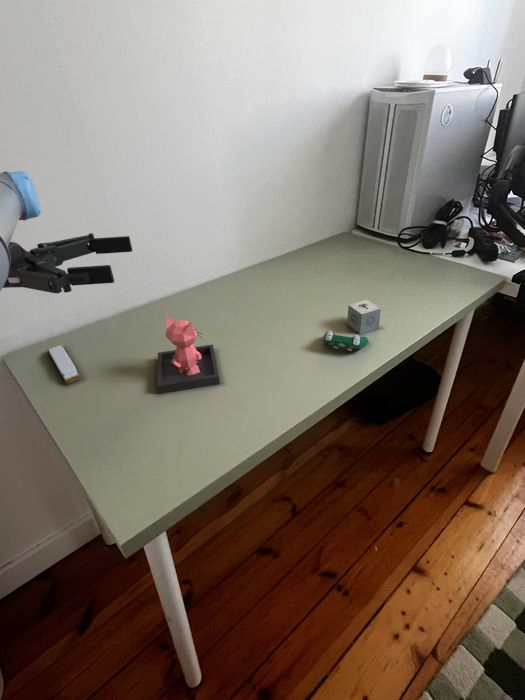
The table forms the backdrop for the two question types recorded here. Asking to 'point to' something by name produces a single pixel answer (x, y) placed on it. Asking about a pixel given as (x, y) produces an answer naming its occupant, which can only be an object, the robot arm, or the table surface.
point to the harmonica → (63, 364)
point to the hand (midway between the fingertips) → (122, 257)
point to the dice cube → (363, 316)
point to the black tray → (179, 381)
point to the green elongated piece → (345, 341)
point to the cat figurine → (183, 345)
